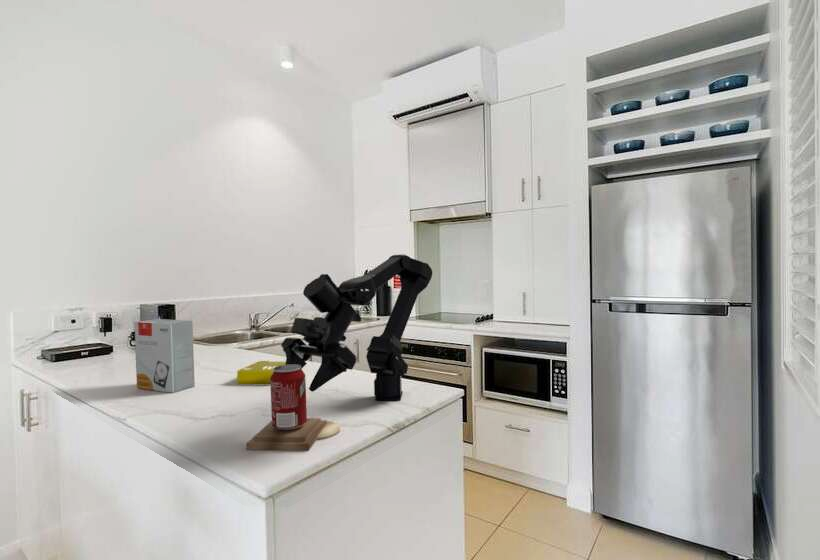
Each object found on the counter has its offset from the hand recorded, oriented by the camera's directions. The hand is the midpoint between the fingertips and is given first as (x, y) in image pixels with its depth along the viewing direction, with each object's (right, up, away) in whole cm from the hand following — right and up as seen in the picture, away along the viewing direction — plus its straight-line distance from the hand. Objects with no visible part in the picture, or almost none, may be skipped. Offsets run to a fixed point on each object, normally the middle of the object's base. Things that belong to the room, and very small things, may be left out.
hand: (296, 387), depth 85 cm
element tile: (-21, -10, +46) cm, 52 cm away
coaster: (+4, -10, +1) cm, 10 cm away
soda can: (-1, -8, -1) cm, 8 cm away
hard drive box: (-49, -10, +38) cm, 63 cm away
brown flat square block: (-1, -10, -1) cm, 10 cm away
